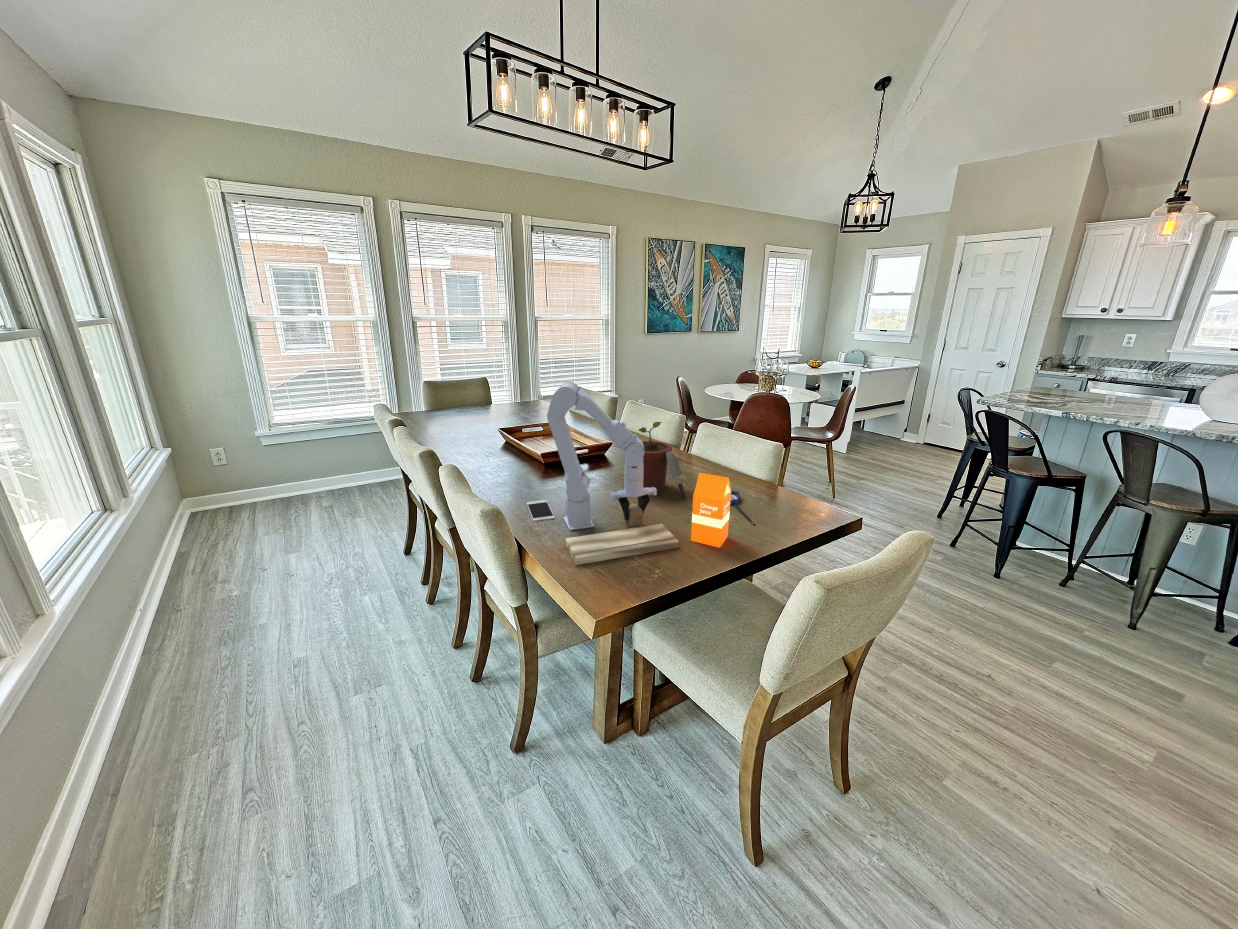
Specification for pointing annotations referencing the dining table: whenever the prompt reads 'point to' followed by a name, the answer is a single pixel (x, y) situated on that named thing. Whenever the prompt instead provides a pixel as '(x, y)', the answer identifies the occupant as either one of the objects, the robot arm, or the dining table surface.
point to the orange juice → (711, 510)
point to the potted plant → (659, 463)
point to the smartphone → (540, 510)
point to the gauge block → (635, 516)
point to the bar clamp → (734, 501)
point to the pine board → (620, 543)
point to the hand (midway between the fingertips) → (633, 518)
